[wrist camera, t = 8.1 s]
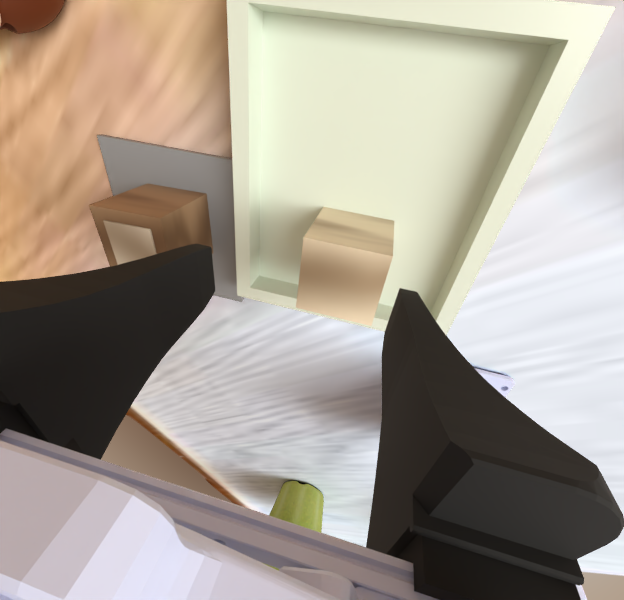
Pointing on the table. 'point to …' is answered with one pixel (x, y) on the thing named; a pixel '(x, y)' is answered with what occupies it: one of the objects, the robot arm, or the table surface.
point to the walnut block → (151, 222)
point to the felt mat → (188, 176)
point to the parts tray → (393, 129)
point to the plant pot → (299, 506)
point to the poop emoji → (28, 14)
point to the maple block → (345, 265)
